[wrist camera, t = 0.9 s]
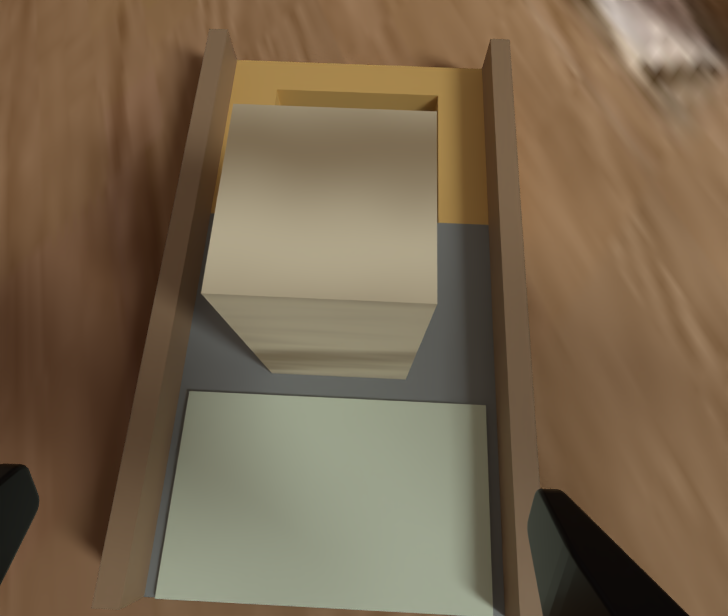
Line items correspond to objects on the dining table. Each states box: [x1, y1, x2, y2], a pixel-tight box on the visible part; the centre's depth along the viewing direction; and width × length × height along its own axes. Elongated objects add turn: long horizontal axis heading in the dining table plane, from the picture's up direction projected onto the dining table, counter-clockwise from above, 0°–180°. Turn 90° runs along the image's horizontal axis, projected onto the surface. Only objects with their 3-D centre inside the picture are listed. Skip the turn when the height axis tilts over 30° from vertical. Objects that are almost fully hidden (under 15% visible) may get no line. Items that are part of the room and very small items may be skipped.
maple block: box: [201, 104, 437, 380], centre depth 18 cm, size 6×6×10 cm
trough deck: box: [91, 29, 543, 616], centre depth 23 cm, size 27×16×4 cm, turn 177°
